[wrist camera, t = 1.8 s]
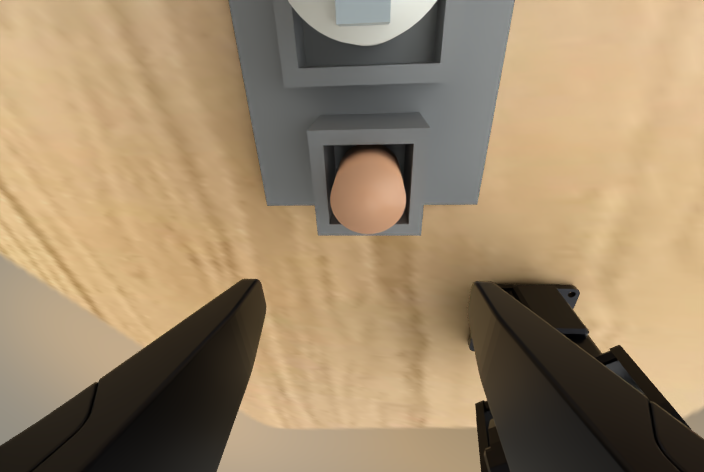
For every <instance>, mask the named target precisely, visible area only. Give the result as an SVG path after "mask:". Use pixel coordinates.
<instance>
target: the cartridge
mask: <svg viewBox="0 0 704 472" xmlns="http://www.w3.org/2000/svg"><path fill="white" fill-rule="evenodd" d="M436 1H437V0H288V2H289V3H290V5H291V6H292V7H293V8H294V10H295V11H296V12H297V13H298V14H299V16H300V17H301V18H302V19H304V20H305V21H306V22H307V23H308V24H309V25H310V26H311V27H313V28H314V29H316V30H317V31H318V32H320V33H322V34H324V35H326V36H327V37H329V38H332V39H334V40H337V41H340V42H344V43H349V44H355V45H360V46H375V45H379V44H382V43H384V42H387V41H389V40H391V39H392V38H394V37H396V36H398V35H400V34H401V33H403V32H405V31H406V30H408V29H409V28H411V27H412V26H413V25H414V24H416V23H417V22H418V21H419V20H420V19H421V18H422V17H423V16H424V15H425V14H426V13H427V12H428V11H429V10H430V9H431V8H432V6H433V5H434V4H435V3H436Z"/></svg>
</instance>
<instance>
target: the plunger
mask: <svg viewBox="0 0 704 472" xmlns="http://www.w3.org/2000/svg"><path fill="white" fill-rule="evenodd" d="M330 203H331V208H332V211H333V213H334V215H335V217H336V219H337V220H338V221H339V222H340V223H341V224H342V225H343V226H345V227H346V228H348V229H349V230H351V231H354V232H357V233H361V234H375V233H380V232H383V231H385V230H387V229H389V228H390V227H392V226H393V225H394V224H395V223H396V222H397V221H398V220H399V219H400V218H401V216H402V214H403V212H404V209H405V206H406V194H405V189H404V184H403V179H402V175H401V170H400V165H399V162H398V160H397V158H396V156H395V155H394V154H393V153H392V151H390V150H389V149H388V148H386V147H385V146H383V145H380V144H371V145H356V146H354V147H352V148H351V149H349V150H348V151H347V152H346V153H345V155H344V156H343V157H342V159H341V161H340V164H339V167H338V171H337V174H336V177H335V180H334V184H333V187H332V191H331V195H330Z"/></svg>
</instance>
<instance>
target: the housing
mask: <svg viewBox="0 0 704 472" xmlns="http://www.w3.org/2000/svg"><path fill="white" fill-rule="evenodd" d="M228 1H229V6H230V11H231V17H232V22H233V27H234V32H235V38H236V43H237V48H238V54H239V59H240V64H241V69H242V75H243V80H244V85H245V91H246V96H247V101H248V106H249V112H250V117H251V122H252V128H253V133H254V138H255V143H256V149H257V154H258V159H259V165H260V170H261V175H262V180H263V186H264V191H265V196H266V202H267V206H290V205H315V211H316V221H317V231H318V235H421V229H422V218H423V206H424V205H465V204H477V202H478V197H479V192H480V186H481V181H482V175H483V170H484V165H485V159H486V154H487V148H488V143H489V137H490V132H491V127H492V121H493V116H494V110H495V105H496V99H497V94H498V89H499V83H500V78H501V72H502V67H503V61H504V56H505V51H506V45H507V40H508V34H509V29H510V24H511V18H512V13H513V7H514V2H515V0H437V1H436V3H435V4H434V5H433V6H432V8H431V9H430V10H429V11H428V12H427V13H426V14H425V15H424V16H423V17H422V18H421V19H420V20H419V21H418V22H417V23H416V24H414V25H413V26H412V27H411V28H409V29H408V30H406V31H405V32H403V33H401V34H400V35H398V36H396V37H394V38H392V39H391V40H389V41H387V42H384V43H382V44H379V45H375V46H360V45H355V44H349V43H344V42H340V41H337V40H334V39H332V38H329V37H327V36H326V35H324V34H322V33H320V32H318V31H317V30H316V29H314V28H313V27H311V26H310V25H309V24H308V23H307V22H306V21H305V20H304V19H302V18H301V17H300V16H299V14H298V13H297V12H296V11H295V10H294V8H293V7H292V6H291V5H290V3H289V2H288V0H228ZM371 144H380V145H383V146H385V147H386V148H388V149H389V150H390V151H392V153H393V154H394V155H395V156H396V158H397V160H398V162H399V165H400V170H401V175H402V179H403V184H404V189H405V194H406V206H405V209H404V212H403V214H402V216H401V218H400V219H399V220H398V221H397V222H396V223H395V224H394V225H393V226H392V227H390V228H389V229H387V230H385V231H383V232H380V233H375V234H361V233H357V232H354V231H351V230H349V229H348V228H346V227H345V226H343V225H342V224H341V223H340V222H339V221H338V220H337V219H336V217H335V215H334V213H333V211H332V208H331V203H330V195H331V191H332V187H333V184H334V180H335V177H336V174H337V171H338V167H339V164H340V161H341V159H342V157H343V156H344V155H345V153H346V152H347V151H348V150H349V149H351V148H352V147H354V146H356V145H371Z"/></svg>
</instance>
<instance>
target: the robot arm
mask: <svg viewBox="0 0 704 472" xmlns="http://www.w3.org/2000/svg"><path fill="white" fill-rule="evenodd" d="M570 292H571V293H570ZM579 294H580V292H579V290H578V289H577V288H576V287H575V286H573V285H513V284H495V283H493V282H490V281H476V282H474V283H473V285H472V288H471V292H470V297H469V302H468V307H467V315H468V321H469V326H470V331H471V333H470V337H469V342H468V345H469V348H470V350H472V351H475V355H476V360H477V365H478V370H479V374H480V378H481V382H482V385H483V388H484V392H485V395H486V398H487V401H484V400H483V401H480V402H478V403H476V404H475V406H476V421H477V432H478V442H479V452H480V464H481V472H704V439H703V438H702V437H701V436H699V435H698V434H696V433H695V432H693V431H692V430H691V428H690V427H689V426H688V425H687V424H686V422H685V421H684V420H683V419H682V417H681V416H680V415H679V414H678V413H677V411H676V410H675V409H674V408H673V407H672V406H671V404H670V403H669V402H668V401H667V400H666V398H665V397H664V396H663V395H662V394H661V393H660V391H659V390H658V389H657V388H656V387H655V386H654V384H653V383H652V382H651V381H650V380H649V379H648V377H647V376H646V375H645V374H644V373H643V371H642V370H641V369H640V368H639V367H638V366H637V364H636V363H635V362H634V361H633V360H632V359H631V357H630V356H629V355H628V354H627V353H626V352H625V350H624V349H623V348H622V347H621V346H620V345H618V346H615V347H613V348H610V351H608V352H606V353H603V354H602V353H601V351H600V350H599V349H598V347H597V346H596V345H595V343H594V342H593V341H592V339H591V338H590V337H589V335H588V333H589V331H588V329H587V328H586V326H585V325H584V324H583V322H582V321H581V320H580V319H579V317H578V316H577V315H576V313H575V312H574V311H573V308H574V306H575V304H576V301H577V299H578V297H579ZM265 314H266V302H265V297H264V293H263V289H262V285H261V282H260V281H259V280H258V279H242V280H240V281H239V282H237V283H236V284H235V285H233V286H232V287H230V288H229V289H228V290H226V291H225V292H223V293H222V294H220V295H219V296H218V297H216V298H215V299H213V300H212V301H210V302H209V303H208V304H206V305H205V306H203V307H202V308H200V309H199V310H198V311H196V312H195V313H193V314H192V315H190V316H189V317H188V318H186V319H185V320H183V321H182V322H180V323H179V324H178V325H176V326H175V327H173V328H172V329H170V330H169V331H168V332H166V333H165V334H163V335H162V336H160V337H159V338H158V339H156V340H155V341H153V342H152V343H151V344H149V345H148V346H146V347H145V348H143V349H142V350H141V351H139V352H138V353H136V354H135V355H133V356H132V357H131V358H129V359H128V360H126V361H125V362H124V363H122V364H121V365H119V366H118V367H116V368H115V369H113V370H112V371H111V372H109V373H108V374H106V375H105V376H103V377H102V378H101V379H100V380H99V382H95V383H94V384H92V385H90V386H89V387H88V388H86V389H85V390H83V391H82V392H80V393H79V394H78V395H76V396H75V397H73V398H72V399H70V400H69V401H68V402H66V403H64V404H63V405H62V406H60V407H59V408H57V409H56V410H54V411H53V412H51V413H50V414H49V415H47V416H45V417H44V418H42V419H41V420H40V421H38V422H36V423H35V424H33V425H32V426H30V427H29V428H27V429H26V430H24V431H23V432H21V433H20V434H18V435H16V436H15V437H13V438H12V439H10V440H9V441H7V442H5V443H4V444H2V445H1V446H0V472H217V469H218V466H219V463H220V460H221V457H222V455H223V452H224V449H225V446H226V443H227V440H228V438H229V435H230V432H231V429H232V426H233V423H234V421H235V418H236V415H237V412H238V410H239V407H240V404H241V401H242V398H243V395H244V393H245V390H246V387H247V384H248V381H249V378H250V375H251V372H252V369H253V365H254V361H255V357H256V353H257V349H258V344H259V340H260V336H261V332H262V327H263V323H264V319H265Z"/></svg>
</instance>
